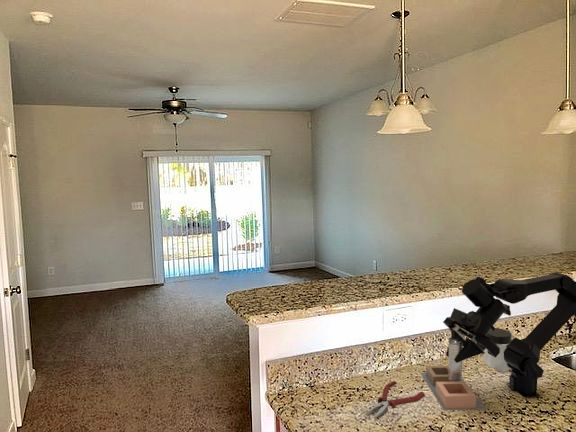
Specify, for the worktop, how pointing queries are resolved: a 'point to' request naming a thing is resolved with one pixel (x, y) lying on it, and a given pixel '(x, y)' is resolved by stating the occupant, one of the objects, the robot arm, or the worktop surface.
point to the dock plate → (441, 375)
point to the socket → (455, 395)
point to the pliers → (392, 401)
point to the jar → (501, 340)
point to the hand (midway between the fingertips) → (451, 358)
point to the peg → (454, 349)
